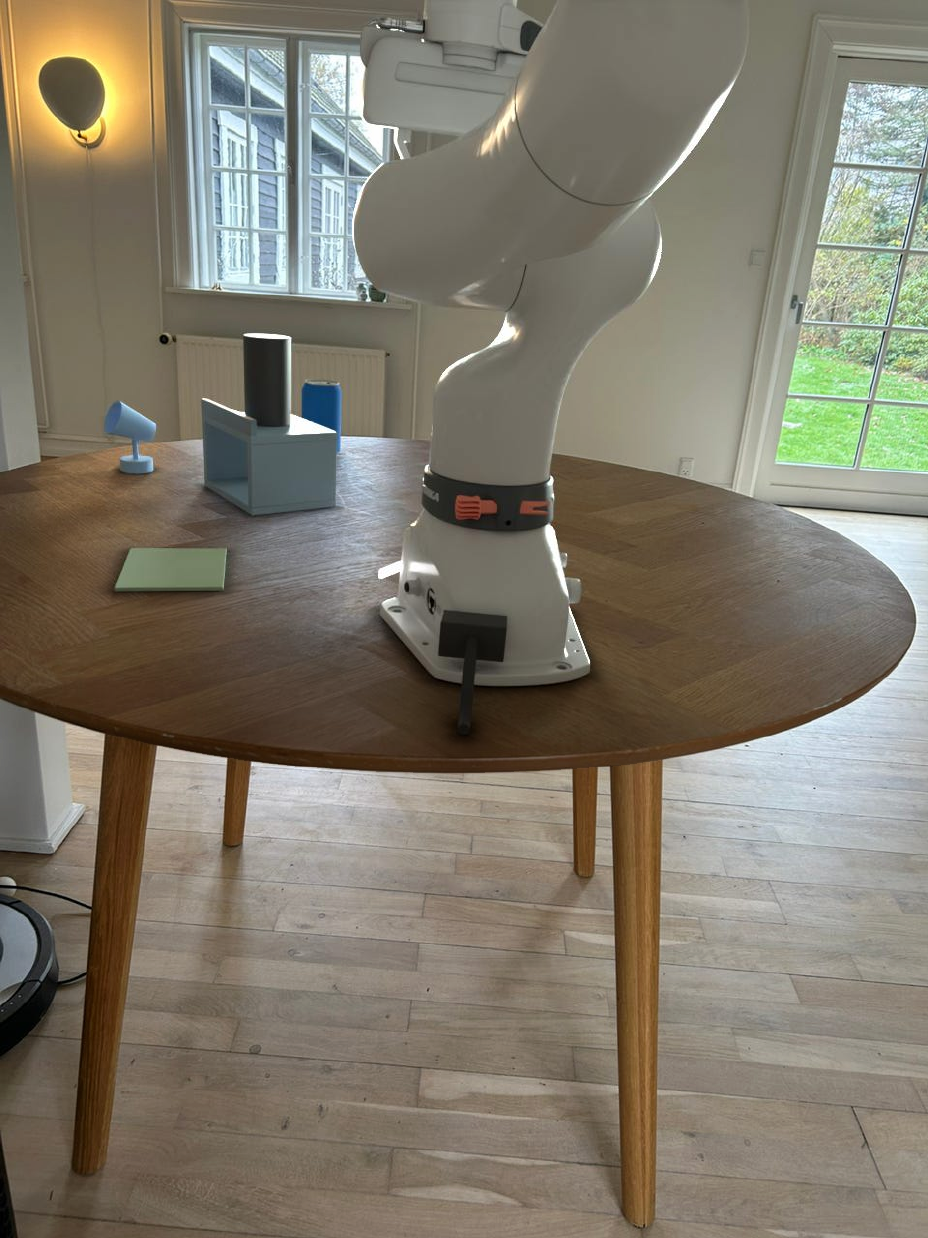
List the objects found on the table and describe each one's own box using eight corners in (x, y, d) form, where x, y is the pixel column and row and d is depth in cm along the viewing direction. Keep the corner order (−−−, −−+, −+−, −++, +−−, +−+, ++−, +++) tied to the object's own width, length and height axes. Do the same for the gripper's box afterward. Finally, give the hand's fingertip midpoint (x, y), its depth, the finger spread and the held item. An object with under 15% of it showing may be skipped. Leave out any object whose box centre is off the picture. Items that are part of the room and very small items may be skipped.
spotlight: (115, 475, 120) (163, 471, 125) (109, 403, 117) (159, 402, 121) (103, 468, 124) (150, 464, 128) (97, 398, 120) (146, 396, 124)
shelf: (335, 506, 115) (337, 416, 110) (252, 515, 108) (250, 420, 103) (283, 478, 126) (282, 396, 122) (204, 485, 119) (200, 398, 115)
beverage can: (344, 452, 146) (345, 381, 142) (335, 460, 140) (336, 385, 136) (307, 449, 146) (307, 377, 142) (296, 456, 141) (296, 382, 136)
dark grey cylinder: (292, 427, 111) (292, 339, 107) (244, 425, 110) (242, 336, 106) (290, 419, 117) (290, 335, 112) (245, 417, 115) (243, 332, 111)
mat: (223, 590, 84) (223, 586, 84) (114, 591, 81) (114, 587, 81) (226, 551, 94) (226, 548, 94) (130, 551, 92) (130, 547, 92)
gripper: (365, 6, 77) (358, 177, 84) (576, 39, 82) (555, 198, 89) (357, 14, 83) (352, 174, 89) (556, 45, 87) (537, 194, 94)
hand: (455, 186), depth 89 cm, fingers open, 8 cm apart
